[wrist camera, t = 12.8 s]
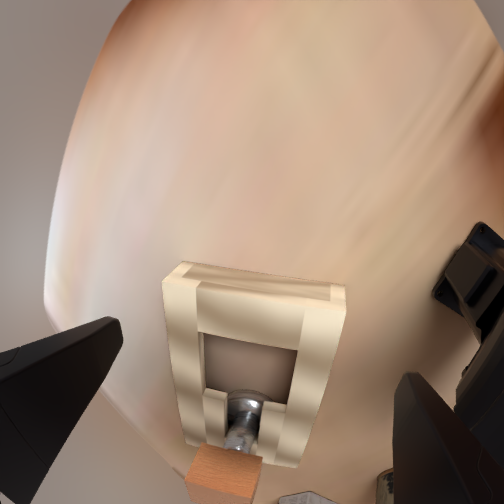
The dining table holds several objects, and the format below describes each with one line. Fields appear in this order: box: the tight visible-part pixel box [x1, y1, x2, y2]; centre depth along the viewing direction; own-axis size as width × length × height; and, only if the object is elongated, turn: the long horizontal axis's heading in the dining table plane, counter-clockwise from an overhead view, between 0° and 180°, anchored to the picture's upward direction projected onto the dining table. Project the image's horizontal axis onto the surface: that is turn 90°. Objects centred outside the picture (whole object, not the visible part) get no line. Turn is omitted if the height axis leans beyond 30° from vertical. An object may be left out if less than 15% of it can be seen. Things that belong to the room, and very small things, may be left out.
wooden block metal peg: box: [184, 390, 273, 504], centre depth 23 cm, size 5×5×11 cm
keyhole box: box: [162, 261, 346, 468], centre depth 24 cm, size 20×12×4 cm, turn 177°
